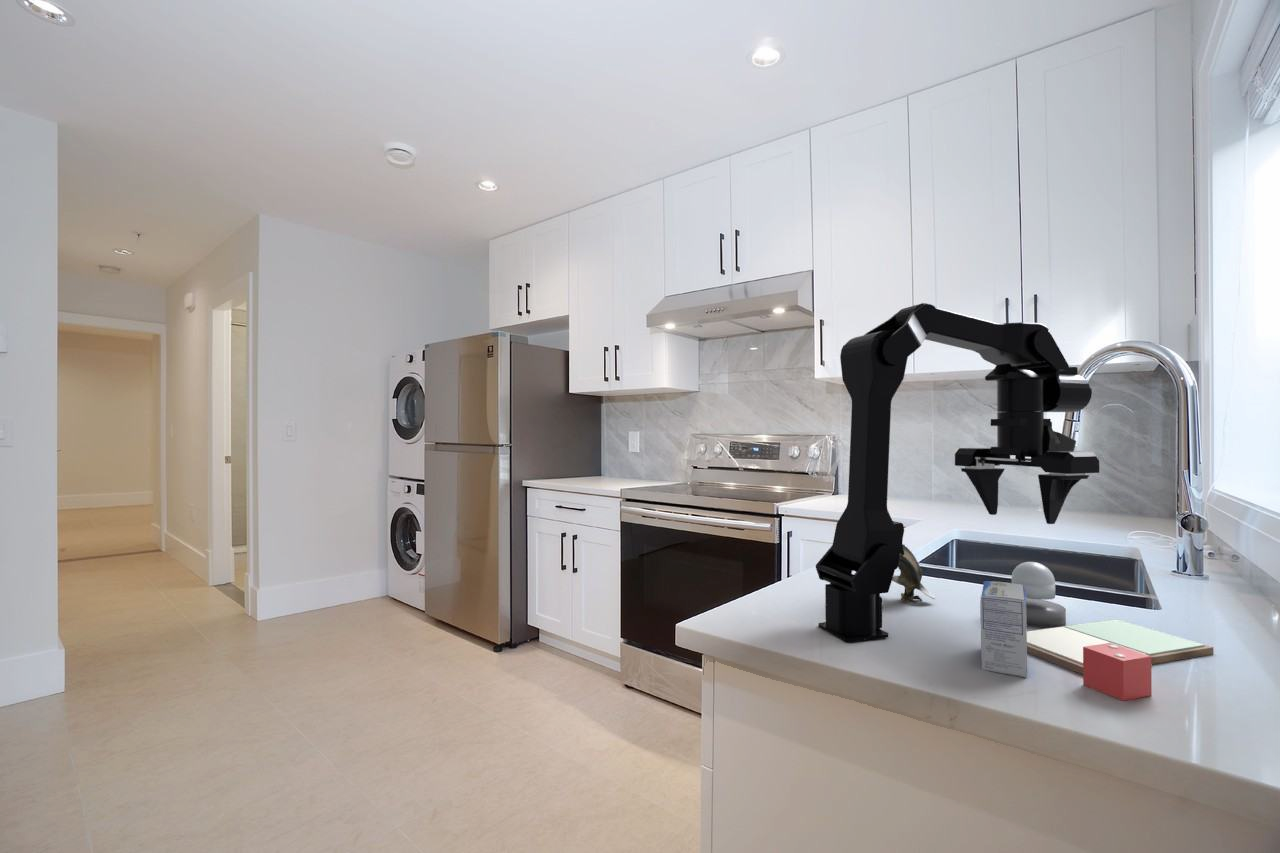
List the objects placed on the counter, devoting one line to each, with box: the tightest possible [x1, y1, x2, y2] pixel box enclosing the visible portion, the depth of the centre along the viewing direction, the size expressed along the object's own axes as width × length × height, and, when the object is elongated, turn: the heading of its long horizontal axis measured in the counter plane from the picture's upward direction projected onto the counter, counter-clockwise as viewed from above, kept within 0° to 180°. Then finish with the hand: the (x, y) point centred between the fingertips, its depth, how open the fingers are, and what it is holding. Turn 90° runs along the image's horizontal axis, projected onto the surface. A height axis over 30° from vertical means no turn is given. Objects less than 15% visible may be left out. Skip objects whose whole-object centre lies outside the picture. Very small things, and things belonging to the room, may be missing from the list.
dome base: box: [1025, 597, 1067, 629], centre depth 85 cm, size 8×8×2 cm
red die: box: [1082, 643, 1153, 701], centre depth 62 cm, size 4×4×4 cm
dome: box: [1011, 561, 1056, 601], centre depth 85 cm, size 5×5×5 cm
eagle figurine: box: [891, 543, 936, 604], centre depth 93 cm, size 8×7×9 cm
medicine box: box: [979, 580, 1028, 679], centre depth 69 cm, size 8×4×9 cm, turn 148°
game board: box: [1027, 618, 1215, 675], centre depth 73 cm, size 21×11×1 cm, turn 107°
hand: (1020, 519), depth 86 cm, fingers open, 9 cm apart
